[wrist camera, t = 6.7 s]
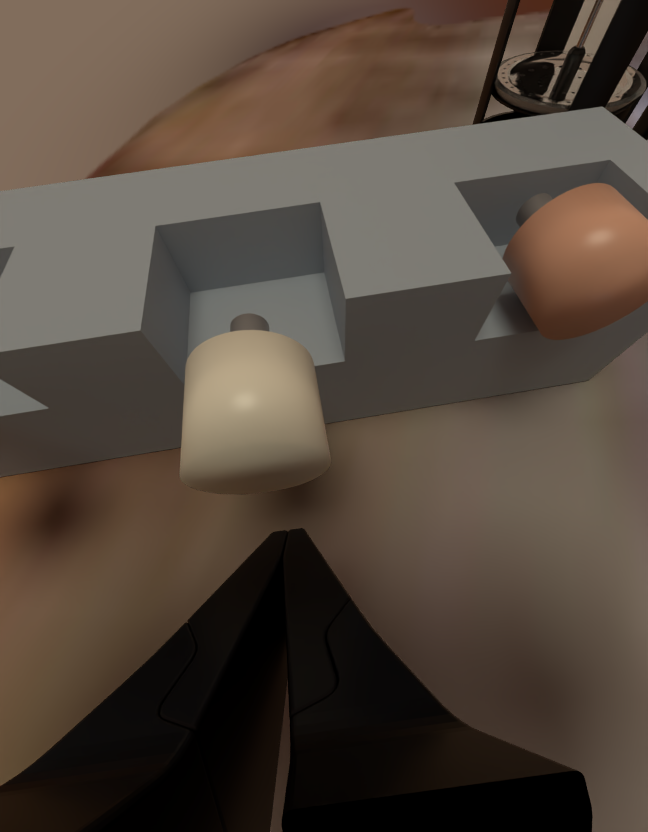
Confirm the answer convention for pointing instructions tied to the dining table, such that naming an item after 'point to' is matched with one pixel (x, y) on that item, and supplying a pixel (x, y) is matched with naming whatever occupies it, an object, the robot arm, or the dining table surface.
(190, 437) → the cream button
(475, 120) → the french press
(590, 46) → the milk
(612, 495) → the dining table surface
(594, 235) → the terracotta button
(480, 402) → the dining table surface
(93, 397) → the block
